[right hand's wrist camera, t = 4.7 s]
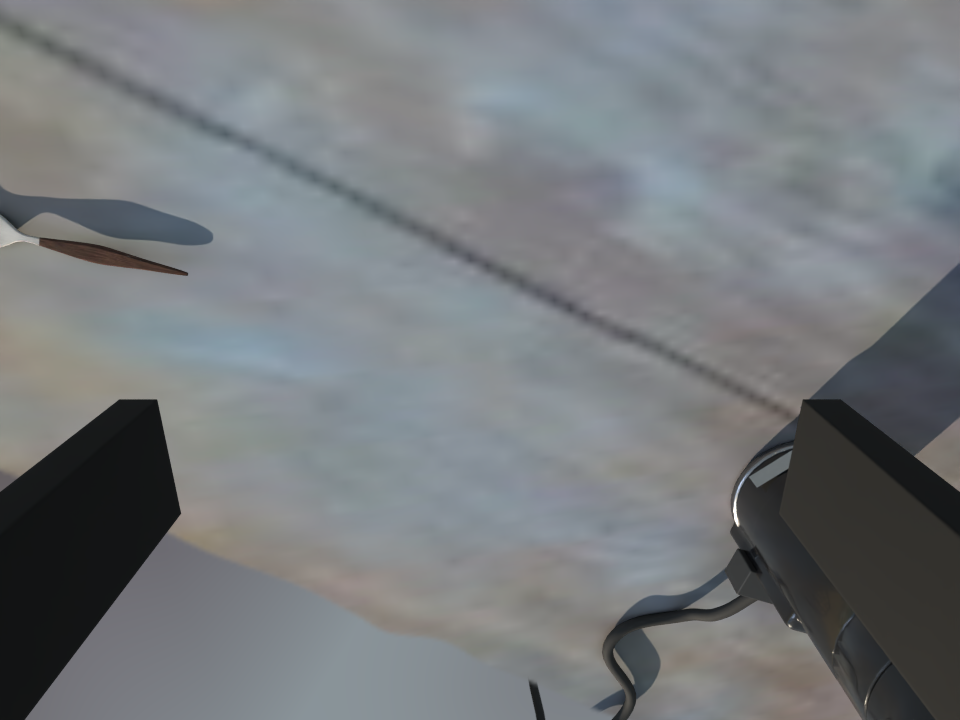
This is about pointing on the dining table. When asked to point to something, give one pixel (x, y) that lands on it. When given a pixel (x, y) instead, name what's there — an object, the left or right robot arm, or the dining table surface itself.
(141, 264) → the fork
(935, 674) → the right robot arm
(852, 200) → the dining table surface
